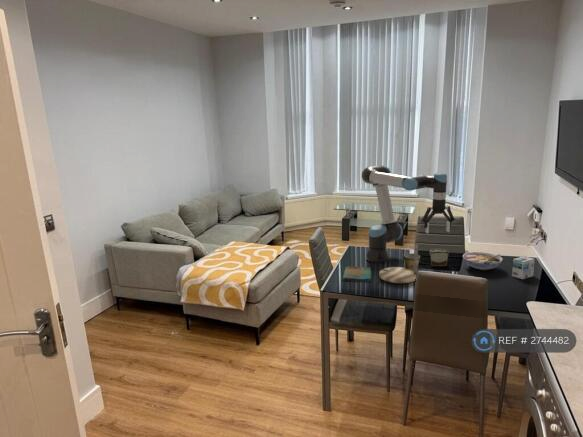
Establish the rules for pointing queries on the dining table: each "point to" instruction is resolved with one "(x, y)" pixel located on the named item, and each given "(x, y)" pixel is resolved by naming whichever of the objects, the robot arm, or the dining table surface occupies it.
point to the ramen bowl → (482, 260)
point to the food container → (439, 257)
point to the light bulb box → (523, 267)
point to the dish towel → (357, 274)
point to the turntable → (400, 272)
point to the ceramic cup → (410, 261)
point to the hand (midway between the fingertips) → (437, 232)
